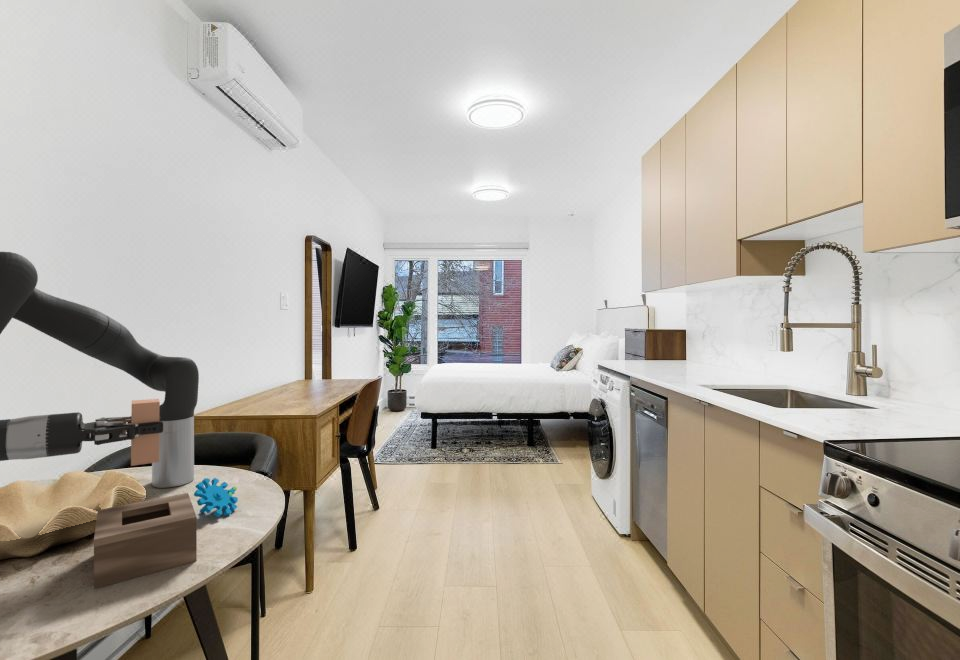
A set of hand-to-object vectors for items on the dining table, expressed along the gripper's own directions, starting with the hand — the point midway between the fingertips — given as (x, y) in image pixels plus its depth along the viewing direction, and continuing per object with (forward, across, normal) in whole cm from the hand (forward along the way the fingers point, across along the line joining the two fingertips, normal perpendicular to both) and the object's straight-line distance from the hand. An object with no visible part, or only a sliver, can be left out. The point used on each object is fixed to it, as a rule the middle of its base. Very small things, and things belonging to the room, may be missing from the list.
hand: (161, 424), depth 91 cm
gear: (+11, +4, +22) cm, 25 cm away
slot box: (-3, -10, +22) cm, 24 cm away
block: (-3, 0, +7) cm, 8 cm away
